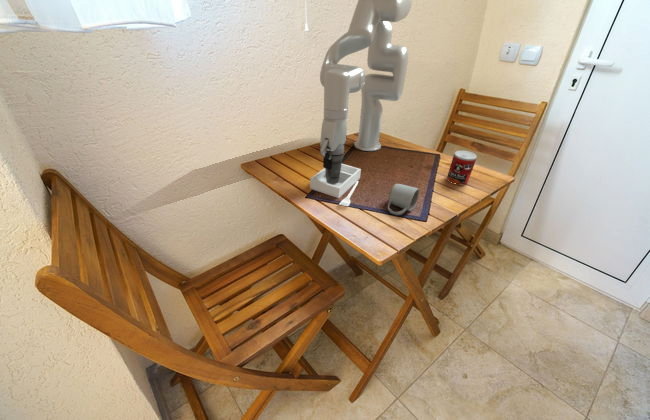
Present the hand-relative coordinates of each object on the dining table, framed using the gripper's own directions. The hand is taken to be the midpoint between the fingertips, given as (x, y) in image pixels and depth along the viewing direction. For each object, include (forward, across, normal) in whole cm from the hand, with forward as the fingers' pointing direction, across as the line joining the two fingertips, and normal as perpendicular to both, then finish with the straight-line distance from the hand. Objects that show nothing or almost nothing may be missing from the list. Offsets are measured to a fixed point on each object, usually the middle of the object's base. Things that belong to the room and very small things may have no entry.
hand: (333, 163), depth 100 cm
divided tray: (+9, -3, 0) cm, 9 cm away
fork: (+10, +1, +8) cm, 13 cm away
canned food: (+9, -30, +38) cm, 50 cm away
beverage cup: (+7, 0, 0) cm, 7 cm away
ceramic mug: (+9, 0, +26) cm, 28 cm away
